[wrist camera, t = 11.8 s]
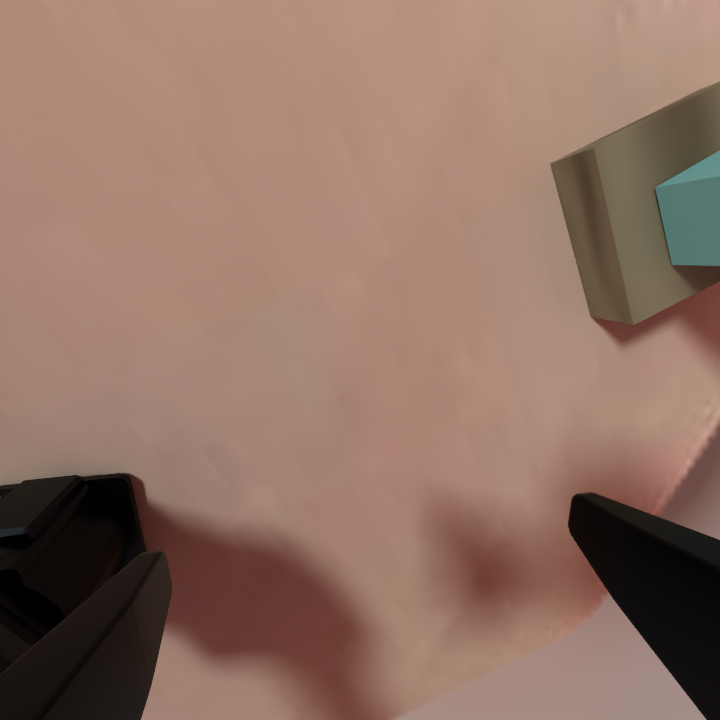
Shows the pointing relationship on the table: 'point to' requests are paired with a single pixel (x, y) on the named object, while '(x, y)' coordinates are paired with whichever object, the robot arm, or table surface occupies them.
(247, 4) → the table surface
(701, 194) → the pillar brick
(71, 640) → the robot arm
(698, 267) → the base brick
